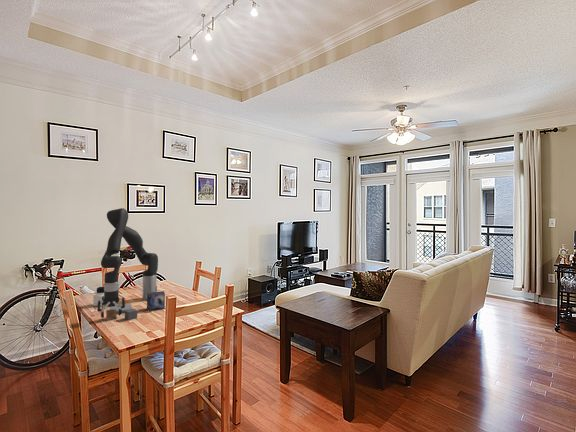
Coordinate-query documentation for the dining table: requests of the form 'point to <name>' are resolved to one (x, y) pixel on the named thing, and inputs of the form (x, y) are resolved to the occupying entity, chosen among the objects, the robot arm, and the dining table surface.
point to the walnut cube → (111, 314)
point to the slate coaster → (127, 307)
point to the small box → (155, 300)
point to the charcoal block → (130, 314)
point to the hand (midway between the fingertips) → (111, 316)
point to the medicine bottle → (98, 296)
